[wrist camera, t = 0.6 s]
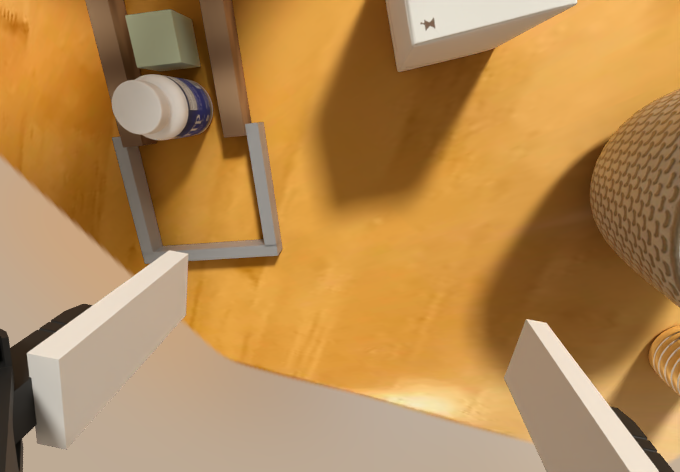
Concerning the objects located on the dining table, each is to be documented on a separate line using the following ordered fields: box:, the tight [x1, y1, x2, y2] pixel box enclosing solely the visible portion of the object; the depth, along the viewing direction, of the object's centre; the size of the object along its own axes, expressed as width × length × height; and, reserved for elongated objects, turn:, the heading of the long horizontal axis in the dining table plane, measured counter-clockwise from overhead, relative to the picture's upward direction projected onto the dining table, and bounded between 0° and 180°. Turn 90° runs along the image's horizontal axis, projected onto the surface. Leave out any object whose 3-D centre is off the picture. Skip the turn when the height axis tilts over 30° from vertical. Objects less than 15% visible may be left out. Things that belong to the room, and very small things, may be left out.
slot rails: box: [85, 0, 251, 148], centre depth 36 cm, size 15×12×2 cm
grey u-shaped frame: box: [112, 122, 282, 264], centre depth 40 cm, size 13×14×2 cm
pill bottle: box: [112, 74, 213, 140], centre depth 34 cm, size 5×5×9 cm
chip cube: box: [125, 9, 201, 72], centre depth 35 cm, size 4×4×4 cm
